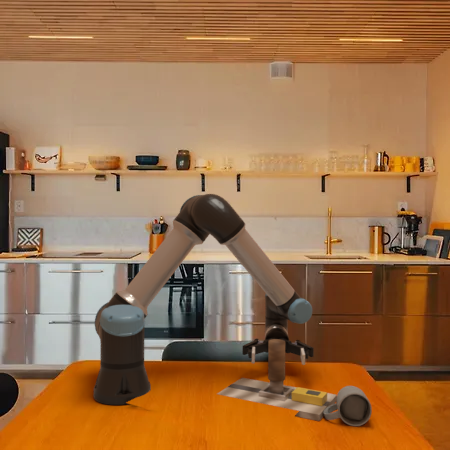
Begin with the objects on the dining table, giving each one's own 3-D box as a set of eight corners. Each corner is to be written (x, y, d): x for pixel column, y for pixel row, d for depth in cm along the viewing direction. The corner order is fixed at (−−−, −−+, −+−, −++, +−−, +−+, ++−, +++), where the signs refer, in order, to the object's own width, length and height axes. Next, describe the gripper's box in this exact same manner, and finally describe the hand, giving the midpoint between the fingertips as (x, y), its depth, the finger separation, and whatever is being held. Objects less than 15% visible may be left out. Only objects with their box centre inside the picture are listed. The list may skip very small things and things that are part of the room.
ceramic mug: (365, 413, 119) (365, 382, 119) (372, 427, 111) (371, 394, 111) (321, 412, 120) (321, 381, 120) (325, 425, 112) (325, 393, 112)
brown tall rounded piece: (265, 395, 127) (265, 341, 126) (272, 389, 131) (272, 338, 130) (281, 398, 125) (281, 344, 124) (287, 392, 128) (287, 340, 128)
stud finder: (291, 400, 123) (291, 391, 123) (297, 394, 127) (297, 386, 127) (322, 406, 119) (322, 397, 119) (327, 400, 123) (327, 391, 123)
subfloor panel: (216, 399, 128) (216, 389, 128) (241, 382, 141) (242, 373, 141) (319, 421, 114) (319, 409, 114) (336, 400, 127) (336, 390, 127)
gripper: (317, 352, 150) (325, 374, 129) (237, 350, 153) (232, 371, 131) (317, 328, 150) (325, 346, 129) (237, 326, 152) (232, 343, 131)
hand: (278, 359), depth 130 cm, fingers open, 13 cm apart
